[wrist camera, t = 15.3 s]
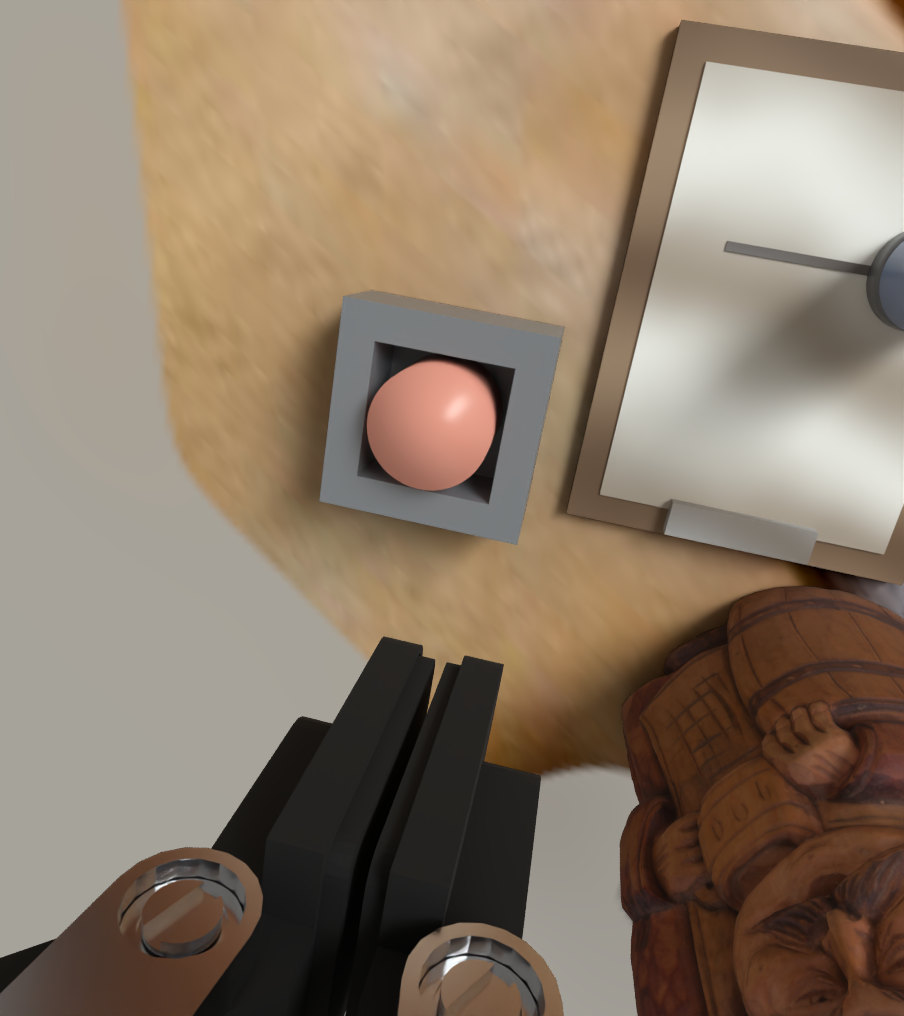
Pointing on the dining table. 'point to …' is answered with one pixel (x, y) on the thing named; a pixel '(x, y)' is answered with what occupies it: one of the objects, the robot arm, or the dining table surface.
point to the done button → (435, 421)
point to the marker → (888, 283)
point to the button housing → (396, 345)
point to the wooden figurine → (770, 814)
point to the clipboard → (760, 311)
